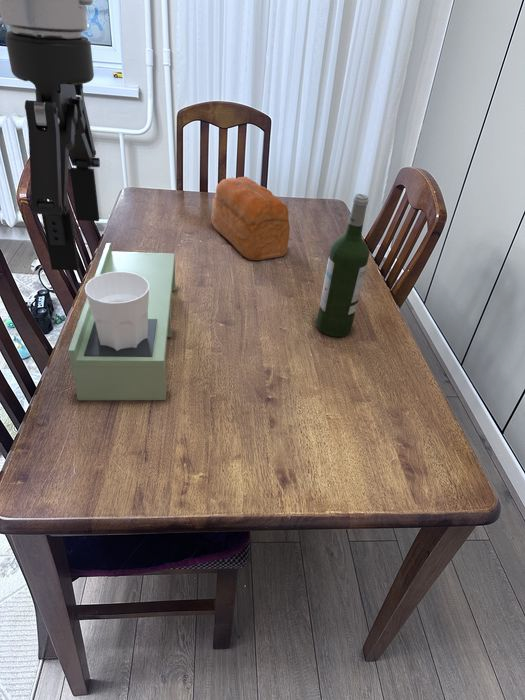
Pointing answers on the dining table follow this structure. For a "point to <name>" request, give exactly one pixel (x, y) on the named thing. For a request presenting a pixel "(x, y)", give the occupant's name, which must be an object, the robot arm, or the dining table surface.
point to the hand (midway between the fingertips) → (78, 242)
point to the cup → (119, 308)
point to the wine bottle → (344, 275)
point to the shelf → (130, 363)
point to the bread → (251, 218)
